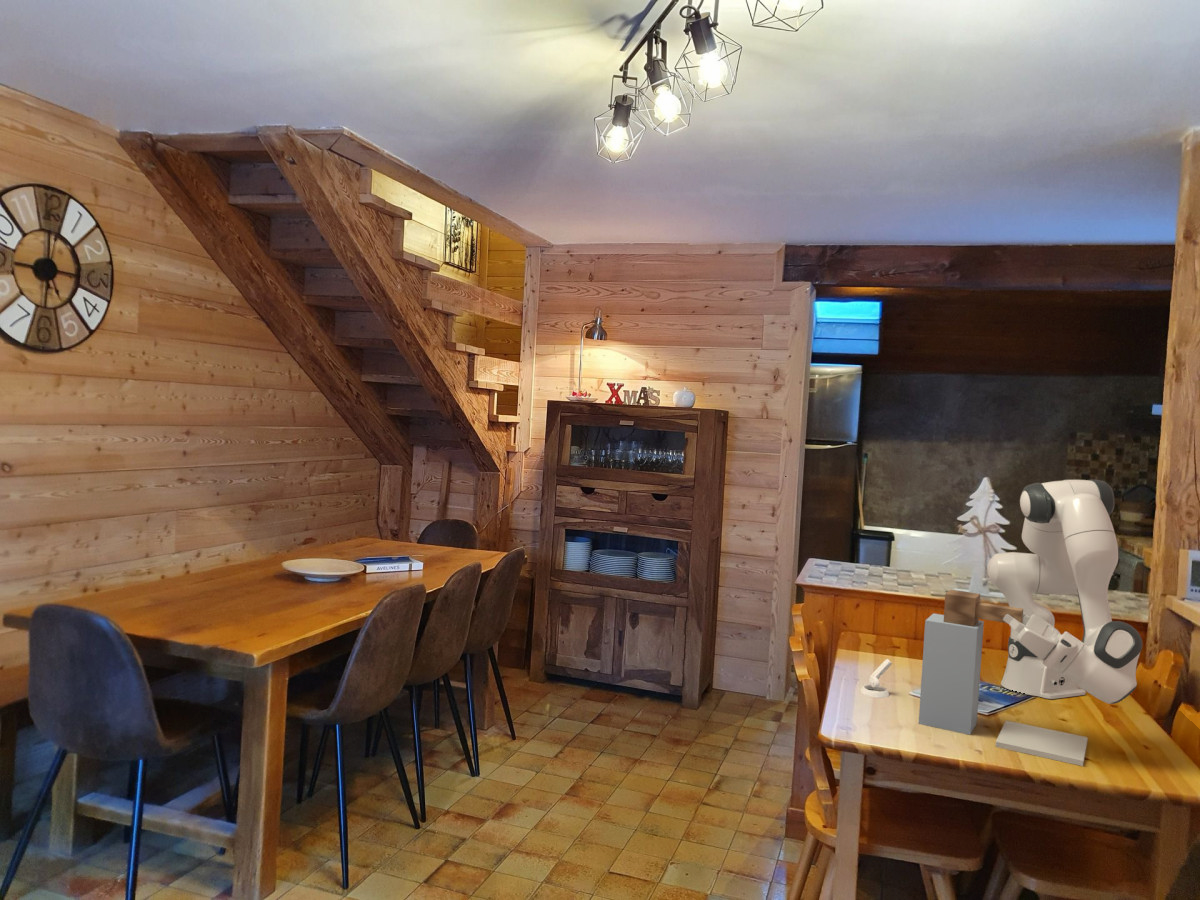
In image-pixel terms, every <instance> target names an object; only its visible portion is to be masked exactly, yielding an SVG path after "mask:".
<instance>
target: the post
mask: <svg viewBox="0 0 1200 900" xmlns="http://www.w3.org/2000/svg"><path fill="white" fill-rule="evenodd" d="M924 622H925V623H924V632H923V633H924V636H923V650H922V651H923V652H922V653H923V654H922V665H921V667H922V668H921V683H920V697H919V711H918V712H919V713H918V724H919V725H923V726H928V727H932V728H935V729H936V728H937V729H941V730H947V731H951V732H955V733H959V734H964V735H969V736H971V734H972V732H973V731H974V729H975V727H976V725H977V724H978V713H979V712H978V710H979V709H978V708H979V697H980V682H981V681H980V680H981V668H982V667H981V666H982V653H983V652H982V651H983V639H984V636H983V635H984V624H985V621H984V620H979V622H978V623H977V624H976V625H975V626H974V627H972V626H966V625H959V624H953V623H947V622H944V614H940V613H939V614H938V613H935V612H934V613H931V615H929V617H927V618H926V619H925V621H924Z"/></svg>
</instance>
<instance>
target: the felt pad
mask: <svg viewBox="0 0 1200 900" xmlns="http://www.w3.org/2000/svg"><path fill="white" fill-rule="evenodd" d="M1088 738H1089V737H1087V736H1083V735H1078V734H1073V733H1068V732H1064V731H1059V730H1054V729H1049V728H1044V727H1039V726H1036V725H1035V726H1034V725H1030V724H1025V723H1019V722H1017V721H1010V720H1005V721H1004V723H1003V726H1002V728H1001V730H1000V731H999V733H998V736H997V738H996V740H995V748H1000V749H1004V750H1009V751H1013V752H1018V753H1021V754H1027V755H1032V756H1035V757H1040V758H1045V759H1050V760H1054V761H1058V762H1063V763H1067V764H1071V765H1076V766H1081V767H1084V763H1085V757H1086V751H1087V746H1088V740H1089V739H1088Z"/></svg>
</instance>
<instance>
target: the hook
mask: <svg viewBox="0 0 1200 900" xmlns="http://www.w3.org/2000/svg"><path fill="white" fill-rule="evenodd" d="M891 666H892V662H891V660H890V659H888V658H886V659H885V660H884V661H883V662H882V663H881V664H880V665H879V666H878V667H877V668H876V669H875V671H873V673H872V674H871V675H870V676H869V678H868V679H869V680H868V682H869V683H868V684H864V685H862V686H861V688H860V691H861V693H862V694H861V693H860V694H861V695H863V694H864V695H863V696H865V695H866V696H865V697H868V696H870V697H869V698H873V697H875V698H874V699H886V698H885V697H887V698H889V697H890V693H889V690H888V688H886V687H884V686H882V685H880V684H881V683H880V680H879V679H880V678H881V676H883V674H885V673H886V671H887V670H888V669H889V668H890V667H891ZM868 689H873V690H868ZM878 690H879V691H878Z"/></svg>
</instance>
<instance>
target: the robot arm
mask: <svg viewBox="0 0 1200 900" xmlns="http://www.w3.org/2000/svg"><path fill="white" fill-rule="evenodd" d="M1019 496H1020V497H1019V505H1020V509H1021V513H1022V515H1023V517H1024V521H1023V525H1022V532H1021V540H1022V543H1023V544H1024V545H1025V547H1026V548H1028V550H1029V551H1030V552H1031V553H1027V552H1018V551H1017V552H1016V551H1012V552H1011V551H1008V552H999V553H995V554H993V555H992V557H991V558H990V559H989V560H988V563H987V568H986V574H987V578H988V579H989V581H990V583H991V584H992V585H993V587H995V588H997V590H999V591H1000V593H1002V594H1003V596H1004V597H1005V600H1006V601H1007V604H1008V606H1009V607H1016V608H1023V620H1022V623H1020V622H1019V621H1017V620H1016V619H1015V618H1014V617H1013V616H1011V615H1010V614H1006V615H1005V616H1004V618H1003V620H1004V621H1005V622H1006V623H1005V624H1008V625H1009V627H1010V636H1009V637H1008V641H1007V642H1008V643H1007V653H1008V656H1007V662H1006V667H1005V669H1004V674H1003V678H1002V679H1001V682H1000V685H1001V686H1002V687H1003V688H1005V689H1007V690H1010V691H1012V690H1013V691H1012V692H1015V691H1017V692H1016V693H1019V692H1021V693H1020V694H1023V693H1025V694H1024V695H1028V696H1033V697H1034V696H1036V697H1039V698H1040V697H1041V698H1044V699H1048V700H1055V699H1062V698H1069V697H1078V696H1084V695H1086V693H1088V694H1090V695H1091V696H1093V697H1094V698H1096V699H1098V700H1100V701H1102V702H1103V703H1106V704H1109V705H1116V704H1118V703H1120V702H1122V701H1123V700H1124V699H1126V698H1127V697H1129V695H1130V694H1132V693H1133V692H1134V691H1135V689H1137V685H1138V684H1137V683H1138V682H1137V678H1136V671H1137V665H1138V660H1139V658H1140V654H1141V651H1142V649H1143V639H1142V637H1141V636H1142V635H1140V633H1139V631H1138V630H1137V629H1136V628H1134V627H1133V625H1131V624H1129V623H1128V622H1124V621H1121V620H1113V619H1112V614H1111V610H1110V602H1109V596H1108V594H1109V593H1108V592H1109V584H1110V581H1111V578H1112V576H1113V574H1114V572H1115V570H1116V567H1117V565H1118V562H1119V544H1118V541H1117V536H1116V533H1115V529H1114V526H1113V523H1112V521H1111V517H1110V516H1111V515H1112V513H1113V511H1114V510H1115V503H1116V502H1115V501H1116V499H1115V494H1114V490H1113V488H1112V487H1111V485H1109V483H1107V482H1106V481H1104V480H1099V479H1093V478H1090V479H1087V480H1086V479H1063V480H1054V481H1048V482H1047V481H1046V482H1042V483H1041V482H1034V483H1030V484H1028V485H1025V486H1024V488H1023V489H1022V490H1021V493H1020V495H1019ZM1035 593H1037V594H1047V595H1048V594H1049V595H1058V596H1065V595H1066V596H1067V595H1076V594H1077V597H1078V603H1079V608H1080V609H1079V610H1080V613H1081V620H1082V626H1083V635H1082V639H1081V640H1080V639H1078V638H1077V637H1076V636H1074V635H1072V634H1071V633H1070V632H1068V631H1064V632H1063V633H1062V634H1061V632H1060V631H1059V630H1058V629H1057V628H1055V622H1056V621H1055V616H1054V614H1053V612H1052V611H1051V610H1049V609H1048V608H1047V607H1045V606H1044V605H1042V604H1040V603H1038V602H1036V601H1035V600H1034V598H1033V594H1035Z"/></svg>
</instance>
